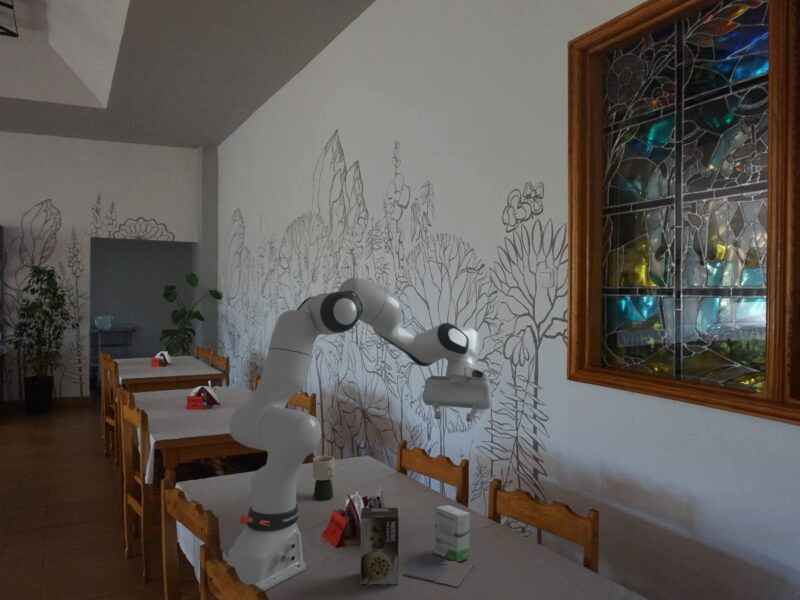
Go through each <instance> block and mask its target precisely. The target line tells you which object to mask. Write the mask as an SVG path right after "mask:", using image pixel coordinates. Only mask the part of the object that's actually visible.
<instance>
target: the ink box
mask: <svg viewBox="0 0 800 600" xmlns="http://www.w3.org/2000/svg"><path fill="white" fill-rule="evenodd" d="M434 510H435V516H434V542H433V552H434V554H436V555H439V556H441V557H443V558H445V559H447V560H452V561H455V562H463V561H465V560H467V559H469V557H470V529H471V528H470V524H471V523H470V522H471V513H470V512H469V511H468V512H467V511H465V510H462V509H460V508H457V507H454V506H452V505H449V504H447V505H442V506H437V507H435V509H434Z"/></svg>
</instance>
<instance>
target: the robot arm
mask: <svg viewBox="0 0 800 600" xmlns="http://www.w3.org/2000/svg"><path fill="white" fill-rule="evenodd" d="M399 298H400V297H398V296H397V295H395V294H394V293H393V292H391V291H390V290H388V289H386V288H384V287H383V286H380V285H378V284H376V283H373V282H371V281H369V280H366V279H363V278H359V277H349V278H348V279H345V281H343V282H342V283H341V285H340V286H339V288H338V291H335V292H324V293H320V294H319V293H318V294H316V295H313V296H310V297H307V298H306V299H305V300H304V301H302V302H301V303H300V305H299V306H298V307H297V309H291V310H286V311H284V312H281V314H280V315H279V316H278V318H277V320H276V323H275V326H274V329H273V331H272V334H271V337H270V341H269V345H268V349H267V350H268V351H267V355H266V359H265V363H264V367H263V371H262V376H261V378H260V379H259V383H258V385H257V387H256V389H255V390H254V392H253V393H252V395H251V396H250V397H249V399H248V400H247V401H246V402H245V403H243V404H242V405H241V406H239V407H237V409H235V411H234V412H233V413H232V415H231V417H230V421H229V433H230V436H231V438H232V439H233V440H234V441H236V442H237V443H239V444H241V445H243V446H246V447H248V448H251V449H255V450H261V451H267V459H266V464H265V465H263V466H262V467H260V468H259V469H258V470H256V471H255V472H254V473H253V475H252V477H251V481H250V482H251V483H250V485H251V491H250V493H251V495H250V497H251V498H250V499H251V501H250V507H249V509H248V512H247V514H243V513H242V514H241V515H240V516H239V519H238V521H239V523H240V524H246V525H245V527H244V528H243V530H242V531H241V532H240V535H239V536H238V537H237V539H236V541H235V542H234V543H233V544H232V547H230V549H229V550H228V553H227V557H226V564H227V563H228V564H229V565H231V566H233V567H234V568H235V569H236V571H237V573H238V575H239V577H240V578H241V579H242V580H243V581H244V582H245V583H248V584H254V585H256V586H258V587H259V588H261V589H262V590H264V591H263V592H266V591H267V590H268V589H271V588H273V587H275V586H276V585H279V584H280V583H282V582H284V581H286V580H288V579H289V578H291V577H293V576H295V575H298V574H299V573H301V572H303V571H305V570H306V569H307V563H306V562H305V561H304V558H303V546H302V543H303V542H302V536H301V535H302V534H301V532H300V529H299V527H298V523H297V521H298V519H299V507H298V504H297V493H298V492H297V488H298V477H299V473H300V469H301V466H302V464H303V463H304V461H305V459H306V458H307V457H308V456H309V455H311V454H312V453H313V452H314V451H315V450H316V449H317V447H318V446H319V445H320V442H321V439H322V427H321V423H320V421H319V420H318V418H317V417H316V416H314V415H311V414H310V413H307V412H305V411H303V410H299V409H293V408H286V406H287V404H288V401H290V399H291V397H292V396H294V395H295V394H297V393H299V392H300V391H302V390H303V389H304V388H305V386H306V384H307V382H308V377H309V372H310V371H309V370H310V366H311V359H312V355H313V350H314V345H315V342H316V339H317V337H318V336H319V335H325V336H332V335H336V334H342V333H346V332H348V331H350V330H351V329H352V328H354V327H355V326H356V324H357V323H358V321H361V322H362V323H365V324H366V325H368V326H370V327H371V328H372V329H373V331H374V332H375V333H376V334H377V335H378V336H379V337H380V338H382V339H383V340H384V341H386V342H388V343H389V344H390V345H392V346H393V347H395V348H396V349H398V350H400V351H402V352H403V353H404V354H406V355H407V356H408V357H409V359H410V360H411V361H412V362H414V363H415V364H416V365H417V366H420V367H429V366H431V365H432V364H435V363H436V362H438V361H440V360H443V359H445V360H446V361H447V366H446V369H445V370H446V372H445V375H431V376H429V377H427V378H425V381H424V382H425V383H424V388H423V391H422V396H421V399H422V401H423V403H424V405H426V406H432V408H433V410H434V416H433V417H434V419H435V420H441V416H442V413H441V411H438V409H440V407H447V408H448V407H449V408H451V407H452V408H463V409H472V410H471V412H470V413H466V417H465V418H466V419H465V420H466V422H471V423H472V422H473V420H474V417H475V416H476V415H477V414H478V411H479V410H489V409H490V408H492V401H493V400H492V399H493V398H492V390H491V387H490V385H491V381H490V377H489V375H488V373H487V372H485V371H482V370H481V369H477V363H478V361H479V358H480V357H479V355H480V346H481V343H480V336H479V332H477V330H475V329H474V328H473V327H470V326H465V325H464V326H463V325H462V326H455V325H454V324H452V323H449V322H444V323H441V324H438V325H436V326H434V327H432V328H431V329H427V330H426V331H423V332H421V333H413V332H411V331H409V330H407V329H406V328H404V326H401V325H400V324H399V323H400V322H401V321H400V320H401V318H402V311H403V308H402V307H403V306H402V302H401V300H400V299H399Z"/></svg>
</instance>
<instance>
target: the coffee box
mask: <svg viewBox="0 0 800 600" xmlns="http://www.w3.org/2000/svg"><path fill="white" fill-rule="evenodd" d="M399 525H400V514H399V508H398V507H362V508H361V511H360V581H359V584H360V585H361V586H363V585H362V584H367V585H366V586H373V585H372V584H382V586H383V585H387V584H391V585H399V582H400V580H399V577H400V575H399V572H400V571H399V567H400V566H399V562H400V561H399V560H400V559H399V557H400V555H399V552H400V551H399V548H400V547H399V545H400V544H399V540H400V539H399V537H400V536H399V535H400V534H399V531H400V530H399V529H400V526H399Z"/></svg>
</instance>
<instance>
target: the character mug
mask: <svg viewBox="0 0 800 600" xmlns="http://www.w3.org/2000/svg"><path fill="white" fill-rule="evenodd" d="M335 462H336V459H335V457H334V456H332V455H317V456H314V457H312V478H313V479H314V480H316V481H315V484H314V491H313V498H315V499H318V500H321V499H324V500H327V499H332V498H333V497H334V493H333V490H334V489H333V484H332V483H333V482H332V479H333V478H334V477H335V475H336V473H335V465H336V463H335Z"/></svg>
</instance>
